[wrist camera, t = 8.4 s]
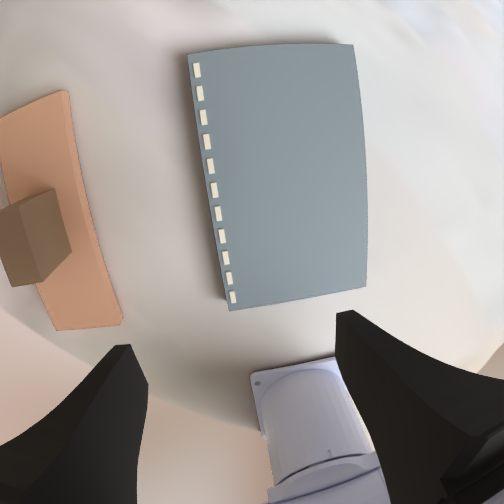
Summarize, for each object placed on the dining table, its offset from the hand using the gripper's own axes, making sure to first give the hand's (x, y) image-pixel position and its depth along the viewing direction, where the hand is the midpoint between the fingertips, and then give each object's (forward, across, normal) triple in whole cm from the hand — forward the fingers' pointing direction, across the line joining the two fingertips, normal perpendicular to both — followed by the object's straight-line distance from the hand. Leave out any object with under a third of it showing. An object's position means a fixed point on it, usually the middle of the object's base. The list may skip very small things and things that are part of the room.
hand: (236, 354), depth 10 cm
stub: (+9, +10, -4) cm, 15 cm away
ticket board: (+9, -4, -4) cm, 11 cm away
